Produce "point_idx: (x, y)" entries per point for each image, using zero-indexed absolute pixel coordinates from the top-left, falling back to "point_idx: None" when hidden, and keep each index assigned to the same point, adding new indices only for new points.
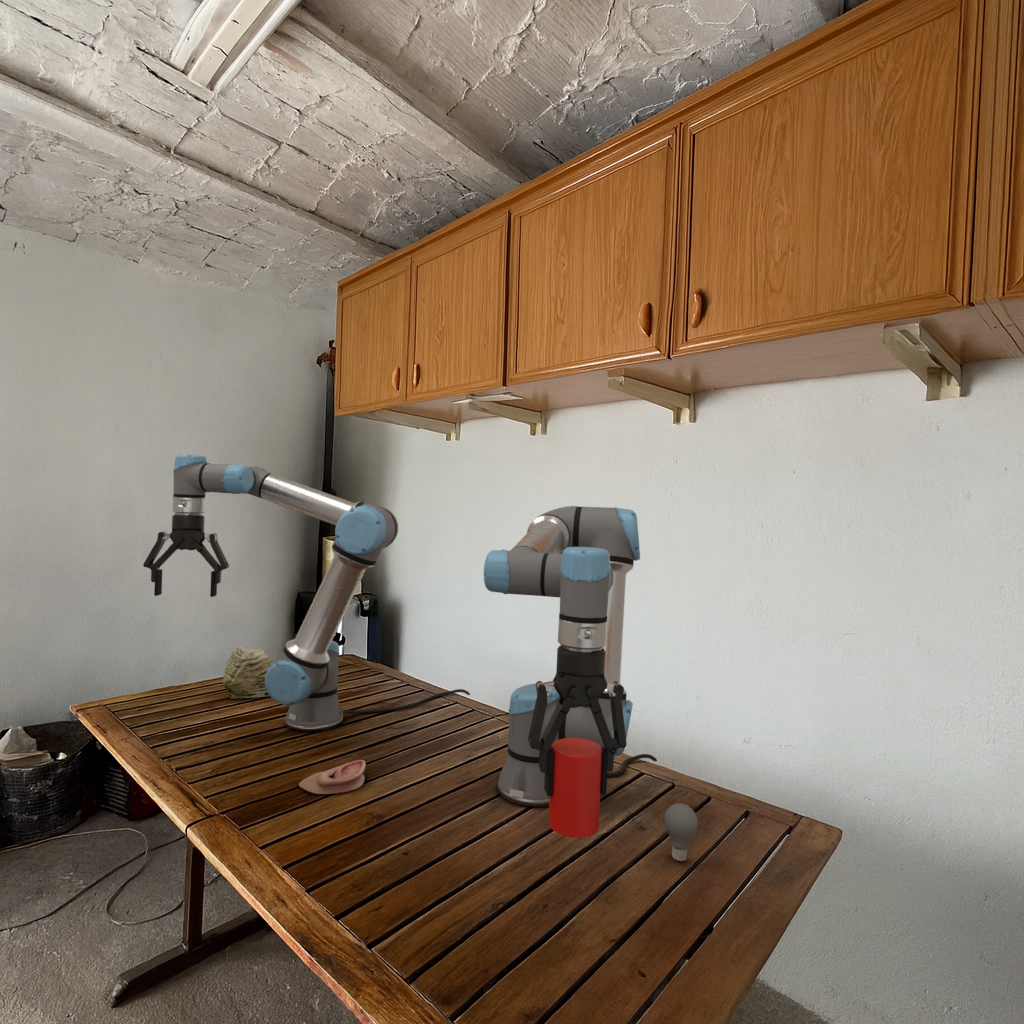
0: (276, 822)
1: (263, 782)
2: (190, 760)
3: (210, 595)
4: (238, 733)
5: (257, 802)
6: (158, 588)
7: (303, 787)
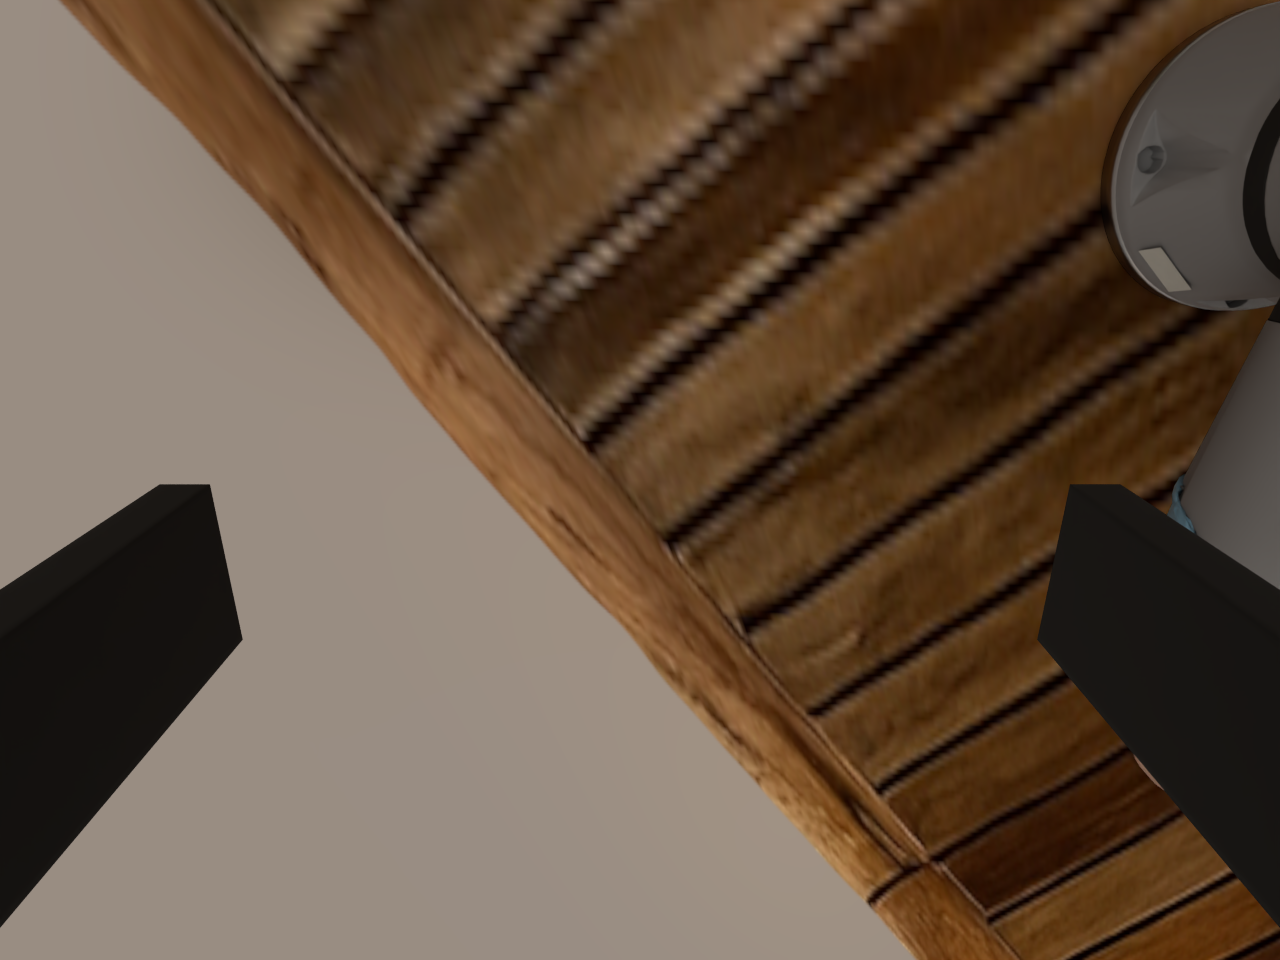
0: (1069, 901)
1: (1027, 719)
2: (768, 562)
3: (1049, 648)
4: (892, 302)
5: (1018, 819)
6: (173, 673)
7: (1147, 772)
